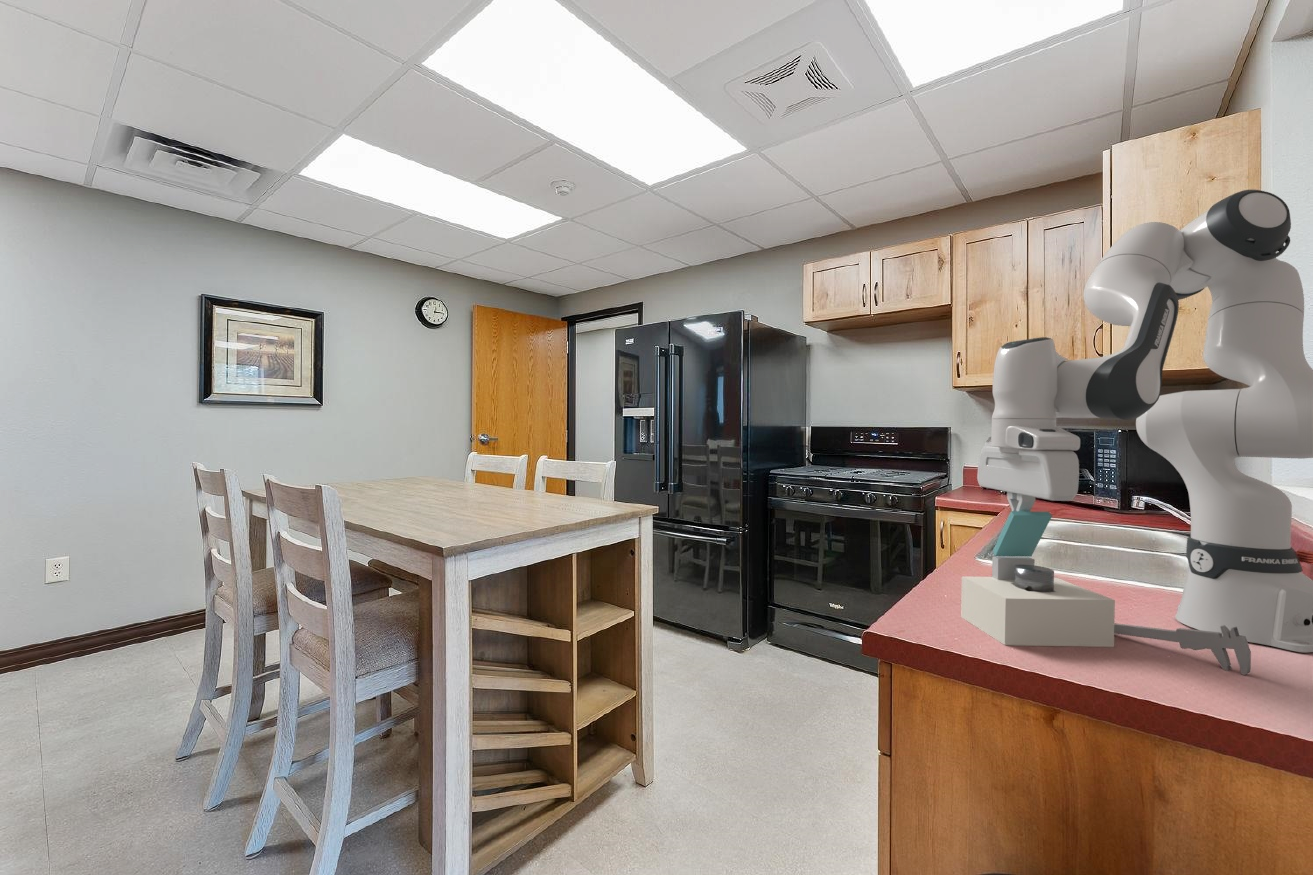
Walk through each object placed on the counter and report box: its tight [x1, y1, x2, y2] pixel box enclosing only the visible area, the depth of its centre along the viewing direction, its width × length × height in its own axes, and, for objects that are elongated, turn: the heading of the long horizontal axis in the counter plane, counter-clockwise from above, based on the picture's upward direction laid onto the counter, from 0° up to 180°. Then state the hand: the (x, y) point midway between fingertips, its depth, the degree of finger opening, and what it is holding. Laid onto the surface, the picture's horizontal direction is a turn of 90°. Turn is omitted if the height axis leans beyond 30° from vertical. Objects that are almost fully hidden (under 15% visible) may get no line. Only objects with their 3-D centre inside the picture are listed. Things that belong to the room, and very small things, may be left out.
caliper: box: [1114, 622, 1252, 676], centre depth 81 cm, size 20×1×6 cm, turn 25°
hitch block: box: [960, 556, 1116, 648], centre depth 87 cm, size 16×12×10 cm
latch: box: [992, 510, 1053, 557], centre depth 89 cm, size 6×9×1 cm
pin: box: [1014, 564, 1055, 592], centre depth 87 cm, size 5×5×10 cm
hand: (1020, 521), depth 89 cm, fingers closed
